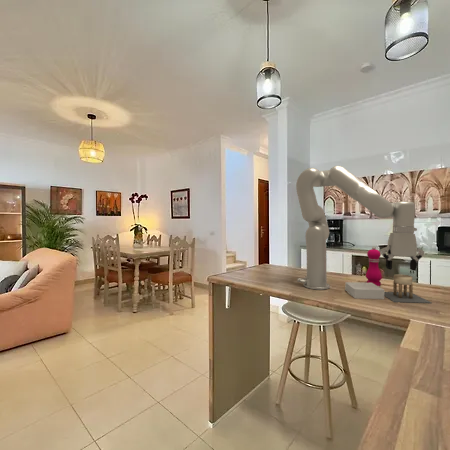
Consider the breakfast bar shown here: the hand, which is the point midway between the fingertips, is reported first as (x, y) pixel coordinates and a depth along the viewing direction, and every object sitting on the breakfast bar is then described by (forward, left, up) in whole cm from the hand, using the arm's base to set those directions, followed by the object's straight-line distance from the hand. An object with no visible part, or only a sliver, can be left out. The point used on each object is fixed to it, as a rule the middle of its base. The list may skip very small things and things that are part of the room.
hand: (400, 269), depth 111 cm
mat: (+1, 0, -12) cm, 12 cm away
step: (-14, +3, -12) cm, 19 cm away
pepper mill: (-2, +21, -12) cm, 24 cm away
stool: (+1, 0, -12) cm, 12 cm away
